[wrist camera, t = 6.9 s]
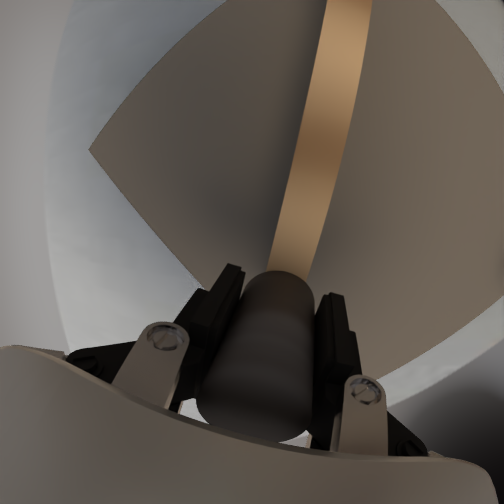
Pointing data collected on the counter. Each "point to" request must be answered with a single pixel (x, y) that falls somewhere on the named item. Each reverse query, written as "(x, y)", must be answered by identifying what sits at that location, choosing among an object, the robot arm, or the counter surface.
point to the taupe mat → (350, 171)
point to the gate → (290, 257)
